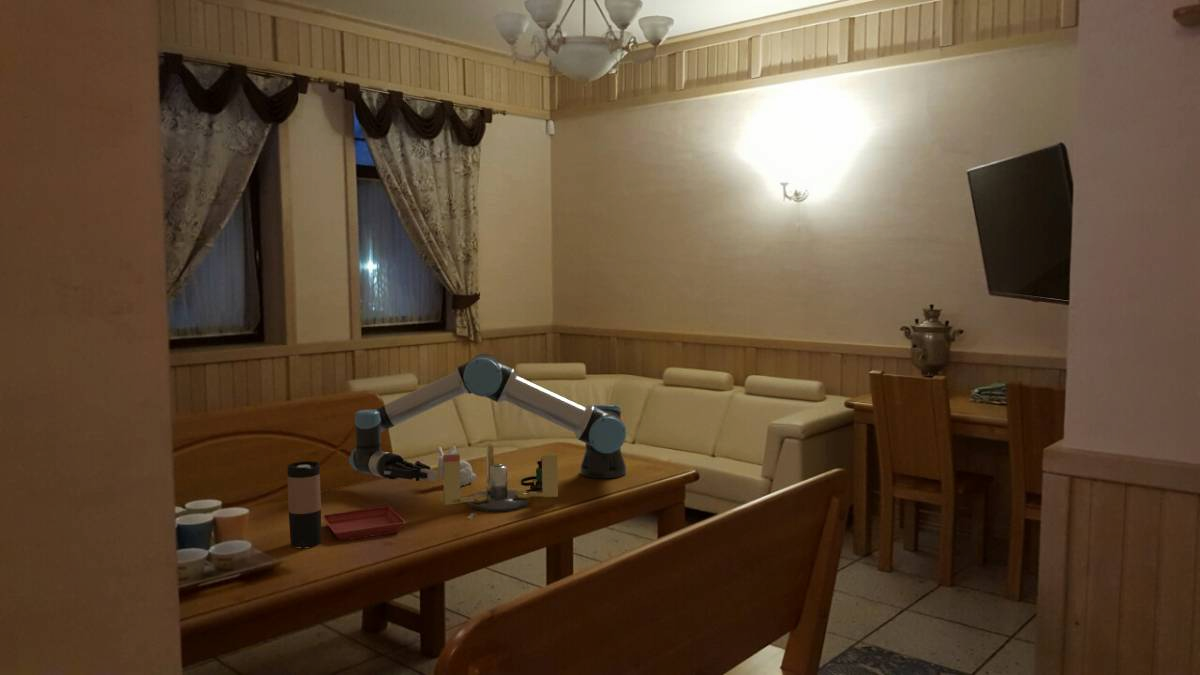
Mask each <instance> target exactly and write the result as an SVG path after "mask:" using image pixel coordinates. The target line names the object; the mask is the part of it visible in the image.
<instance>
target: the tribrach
mask: <svg viewBox="0 0 1200 675" xmlns="http://www.w3.org/2000/svg"><path fill="white" fill-rule="evenodd" d="M485 446H486V482H487V486H486V490H484V491H480V492H477V493H474V494H471V495H470V496H469V497H471V496H474V495H476V494H486V495H488V501H487V502H485V503H474V502H473V501H471V502H468V503H469V505H470V506H469V505H468V506H469V507H470V508H471V509H472V508H473V509H472V510H475V511H479V512H486V511H488V512H489V513H500V512H499V511H504V512H511V511H510V510H512V511H517V510H520V508H521V509H524V508H526V507H527V506H528V505H529V500H530V497H542V498H550V497H551V498H552V497H554V498H555V497H558V496H559V492H558V491H559V489H558V488H559V482H558V480H559V478H558V453H550V454H548V453H546V454H541V458H542V491H539V490H538V492H528V491H526V490H516V489H515V490H513V489H508V465H505V464H503V463H494V460H495V459H494V458H495V457H494V453H495V452H494V445H493V444H492V443H486V445H485ZM516 509H517V510H516ZM488 512H487V513H488ZM474 515H475V516H476V515H477V513H476V512H471V513H470V514H469V515H468V516H466V518H467V519H466V520H471V519H473V516H474ZM475 516H474V517H475ZM468 518H469V519H468Z"/></svg>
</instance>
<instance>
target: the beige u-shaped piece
mask: <svg viewBox="0 0 1200 675" xmlns="http://www.w3.org/2000/svg"><path fill="white" fill-rule="evenodd" d="M460 456H461V455H460V454H459V453H455V454H453V455H446V454H444V455H443V478H442V479H443V481H442V482H443V483H444V485H443V504H444V505H445V506H446V505H455V504H457V505H458V504H461V503H469V502H471V501H473V502H474V503H485V502H487V501H488V495H486V494H476V493H475V494H476V495H474V496H472V495H470V496H471V497H470V496H463V497H461V486H460V460H461V457H460Z"/></svg>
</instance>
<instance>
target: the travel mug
mask: <svg viewBox="0 0 1200 675" xmlns="http://www.w3.org/2000/svg"><path fill="white" fill-rule="evenodd" d="M286 468H287V499H288V500H287V503H288V504H287V506H288V508H287V509H288V522H289V523H288V524H289V536H290V537H289V539H290V546H291V547H292V546H293V547H301V548H300V549H306V548H305V547H311V548H313V547H312V546H315V547H317V546H319V545H321V543H322V502H321V501H322V500H321V496H322V495H321V477H320V476H321V475H320V474H321V473H320V463H319V462H317V461H309V460H307V461H297V462H291V463H289V464H287V467H286ZM318 544H319V545H318ZM316 545H317V546H316ZM293 547H292V548H293Z"/></svg>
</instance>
